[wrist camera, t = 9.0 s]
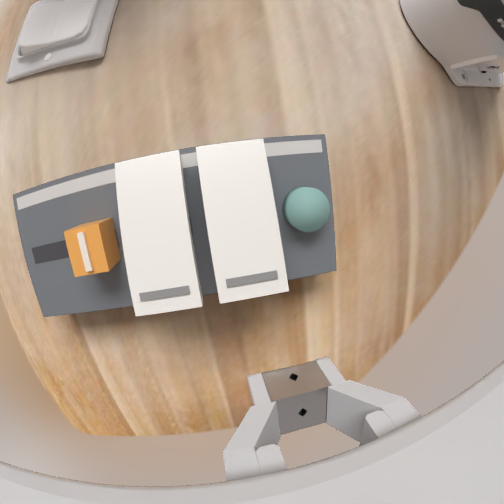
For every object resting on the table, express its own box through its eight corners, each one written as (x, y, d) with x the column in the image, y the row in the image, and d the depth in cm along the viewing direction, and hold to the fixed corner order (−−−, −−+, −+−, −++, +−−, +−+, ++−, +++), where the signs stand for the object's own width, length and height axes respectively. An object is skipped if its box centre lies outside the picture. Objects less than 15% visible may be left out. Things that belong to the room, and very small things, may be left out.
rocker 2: (259, 146, 19) (263, 137, 18) (283, 287, 20) (289, 291, 18) (197, 154, 19) (195, 146, 17) (219, 299, 19) (220, 304, 17)
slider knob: (112, 217, 19) (97, 224, 16) (121, 259, 20) (108, 272, 17) (80, 224, 19) (61, 232, 16) (89, 264, 20) (73, 278, 17)
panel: (307, 140, 24) (330, 132, 19) (318, 257, 27) (341, 274, 22) (35, 191, 21) (6, 195, 16) (61, 300, 24) (39, 321, 19)
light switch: (19, -2, 12) (117, -38, 13) (34, 10, 16) (127, -18, 17) (-10, 78, 14) (89, 44, 16) (11, 86, 18) (106, 60, 20)
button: (320, 184, 21) (327, 185, 20) (323, 225, 22) (331, 228, 21) (280, 189, 21) (285, 189, 19) (284, 231, 22) (290, 235, 20)
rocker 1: (181, 157, 19) (178, 148, 17) (203, 302, 19) (202, 307, 17) (121, 169, 18) (114, 162, 16) (141, 311, 18) (135, 317, 17)
